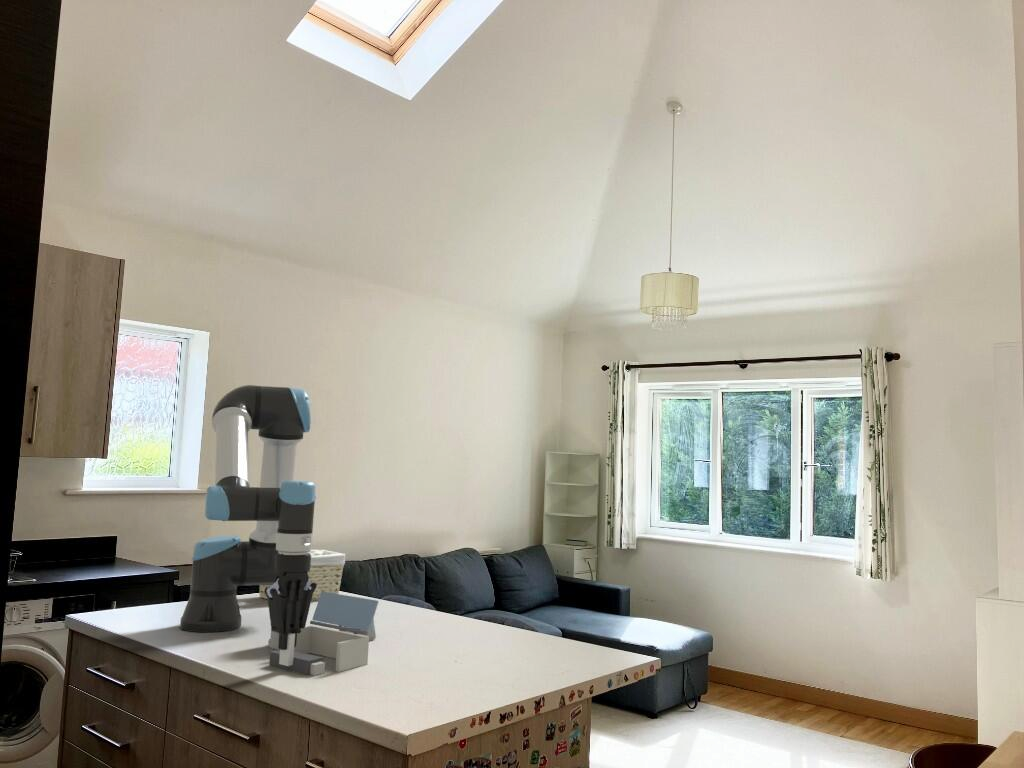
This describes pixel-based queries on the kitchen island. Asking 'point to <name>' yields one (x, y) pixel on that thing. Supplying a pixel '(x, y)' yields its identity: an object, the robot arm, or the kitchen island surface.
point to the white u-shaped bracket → (334, 646)
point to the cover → (345, 612)
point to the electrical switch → (370, 633)
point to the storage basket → (322, 572)
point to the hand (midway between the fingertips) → (286, 664)
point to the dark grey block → (300, 663)
